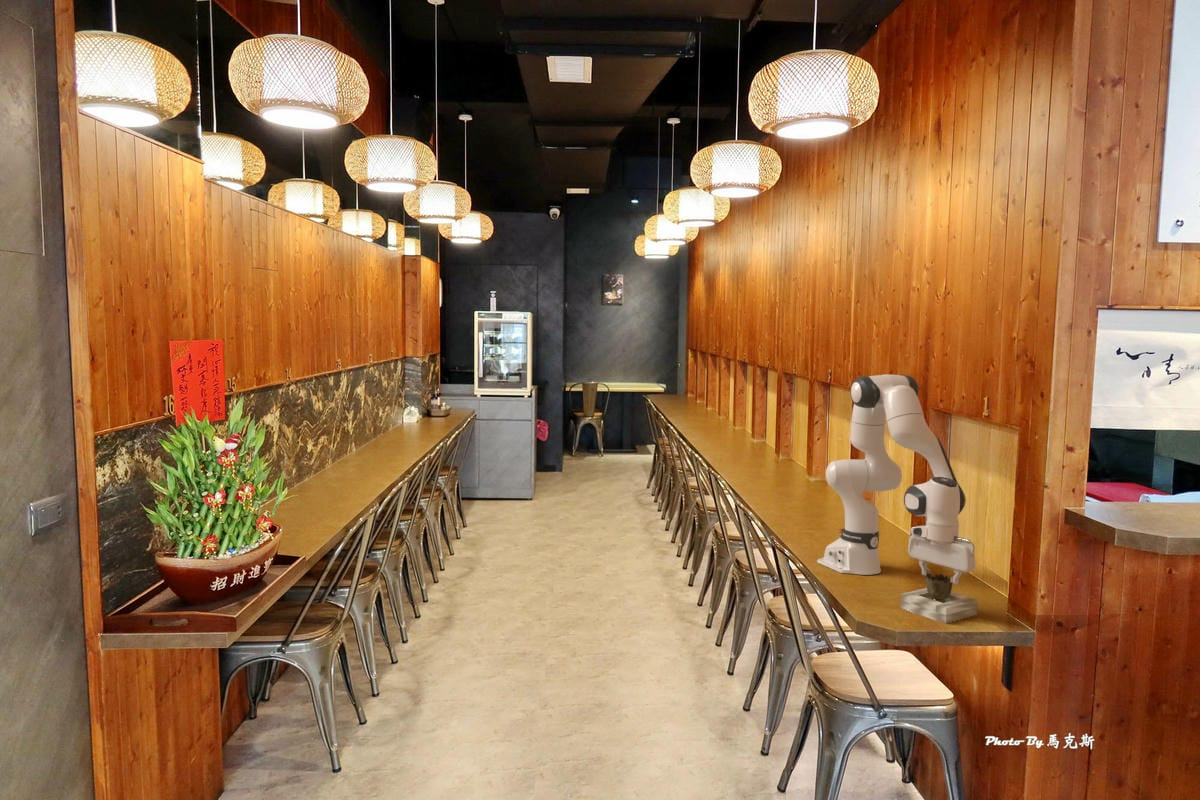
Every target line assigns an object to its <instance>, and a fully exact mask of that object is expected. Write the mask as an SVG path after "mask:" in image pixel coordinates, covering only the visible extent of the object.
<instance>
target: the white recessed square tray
mask: <svg viewBox="0 0 1200 800" xmlns="http://www.w3.org/2000/svg"><path fill="white" fill-rule="evenodd" d="M978 603H979V600H978V599H975V598H972V597H968V596H964V595H962V594H959V593H955V592H952V591H951V594H950V596H949V597H948V598H947V599H945V603H941V602H938V601H935V600H932V597H931V596H930V595H929V594H928V591H927V587H925V588H921V589H920V588H919V589H916V590H912V591H908V592H904V593H900V609H901V608H902V609H901V610H904V609H905V610H904V611H906V610H907V612H909V611H910V613H913V614H916V615H918V616H922V617H924V618H928V619H931V620H933V621H936V620H937V622H939V621H940V623H942V622H943V623H942V624H946V623H947V624H950V623H953V622H952V621H954V622H957V621H956V620H958V621H960V619H961V620H964V619H963V618H965V619H967V618H966V617H968V618H971V617H970V616H972V617H975V616H974V615H976V616H978V608H979V607H978V605H979V604H978ZM949 622H950V623H949Z"/></svg>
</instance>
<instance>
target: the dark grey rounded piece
mask: <svg viewBox="0 0 1200 800" xmlns="http://www.w3.org/2000/svg"><path fill="white" fill-rule="evenodd" d="M950 577H952V576H949V577H948V575H943V574H942V573H940V574H937V573H935V575H932V574H931V573H930V575H929V574H927V575H926V576H925V583H926V588H927V591H928V594H929V595H930V596H931V597H932V600H935V601H938V602H941V603H945V599H947V598H948V597H949V596H950V594H951V592H952V588H953V584H952V583H950V581H951V580H950Z"/></svg>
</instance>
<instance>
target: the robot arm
mask: <svg viewBox="0 0 1200 800" xmlns="http://www.w3.org/2000/svg"><path fill="white" fill-rule="evenodd" d="M919 389H920V388H919V385H918V383H917V380H916V379H915V378H914V377H913V376H911V375H906V374H890V373H889V374H886V373H885V374H881V375H880V374H878V375H870V376H868V375H864V376H858V377H857V378H855V379H854V380H853V382H851V385H850V389H849V390H850V391H849V392H850V393H849V394H850V399H851V401H852V402H853V407H852V412H851V418H850V419H851V420H850V435H849V441H850V443H851V445H852V447H854V448H855V449H857V450H859V451H861V452H862V453H864V455H865V456H864V457H865V458H862V459H856V458H855V459H850V458H847V459H846V458H844V459H843V458H842V459H837V460H832V461H831V462H829V463H828V465H827V466H826V469H825V480H826V482H827V484H828V486H829V487H830V488H832V489H833V490H834V491H835V492H836V493H837V494H838V495H839V497H840V498H841V501H842V504H843V508H844V527H843V528H840V529H838V534H839V533H841V534H840V537H839V538H837V539H836V540H834V541H833V542H831V543H829V544H828V545H826V547H825V550H824V554H823V555H824V556H823V557H820V558H818V559H817V560H816V562H817V564H819V565H822V566H825V567H827V568H829V569H831V570H833V571H836V572H838V573H840V574H854V575H862V576H864V575H867V576H868V575H870V576H871V575H877V574H880V573H881V572H882V569H881V565H880V559H879V557H880V556H879V547H878V546H879V542H880V532H879V514H880V513H879V509H878V507H877V506H876V505H875V504H874V503H872V502H871V501H869V500H867V499H865V498H864V496H863V492H888V491H892V490H896V489H897V488H899V486H900V485H901V482H902V479H903V473H902V470H901V468H900V466H899V465H898V464H897V463H896V462H895V461H894V460H893V459H891V458H892V457H890V456H889V455H888V452H887V450H886V446H885V426H886V424H887V428H888V432H889V435H890V437H891V439H892V441H894V442H895V443H896V444H897V445H898V446H900V447H903V448H905V449H908V450H910V451H913V452H915V453H918V454H919V455H920V456H922V457H923V458H925V460H926V461H927V462H928V465H929V467H930V470H931V472H932V474H933V477H931V478H930V479H929V480H927V481H926V482H923V483H919V484H913V485H910V486H909V487H908V488H907V489H906V490H905V492H904V496H903V504H904V507H905V509H906V511H907V512H908V513H909V514H911V515H913V516H916V517H925V518H926V521H925V524H922V525H917V526H913V527H910V534H911V535H910V536H909V539H908V547H907V553H908V555H909V556H910V558H913V559H916V560H918V564H919V567H920V568H921V575H923V576H925V577H926V575H927V574H929V575H930V574H931V573H930V572H931V569H930V568H928V566H927V563H932V564H934V565H939V566H941V567H945V568H948V569H953V573H954V575H953V576H951V577H950V576H949V577H950V580H951V581H950V583H952V585H958V584H959V579H960V577H961V576H962V574H963V573H970V572H974V570H975V569H976V558H975V557H976V556H975V555H976V554H975V550H976V549H975V544H974V543H973V542H972V541H971V540H970V539H968V538H964V537H960V536H959V530H960V529H959V527H960V522H959V519H958V517H959V515H960V513H961V512H962V511H963V510H964V509H965V506H966V503H967V502H966V499H967V498H966V496H965V492H964V491H963V489H962V487H961V485H960V484H959V482H958V480H957V477H956V475H955V473H954V470H953V468H952V466H951V463H950V461H949V459H948V456H947V453H946V450H945V448H944V446H943V444H942V442H941V440H940V438H939V436H937V435H936V434H935V433H933V432H932V429H930V426H929V425H928V424H927V421H926V419H925V416H924V415H925V414H924V412H923V407H922V405H921V403H920V399H919V397H918V396H919V393H920V392H919Z"/></svg>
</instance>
